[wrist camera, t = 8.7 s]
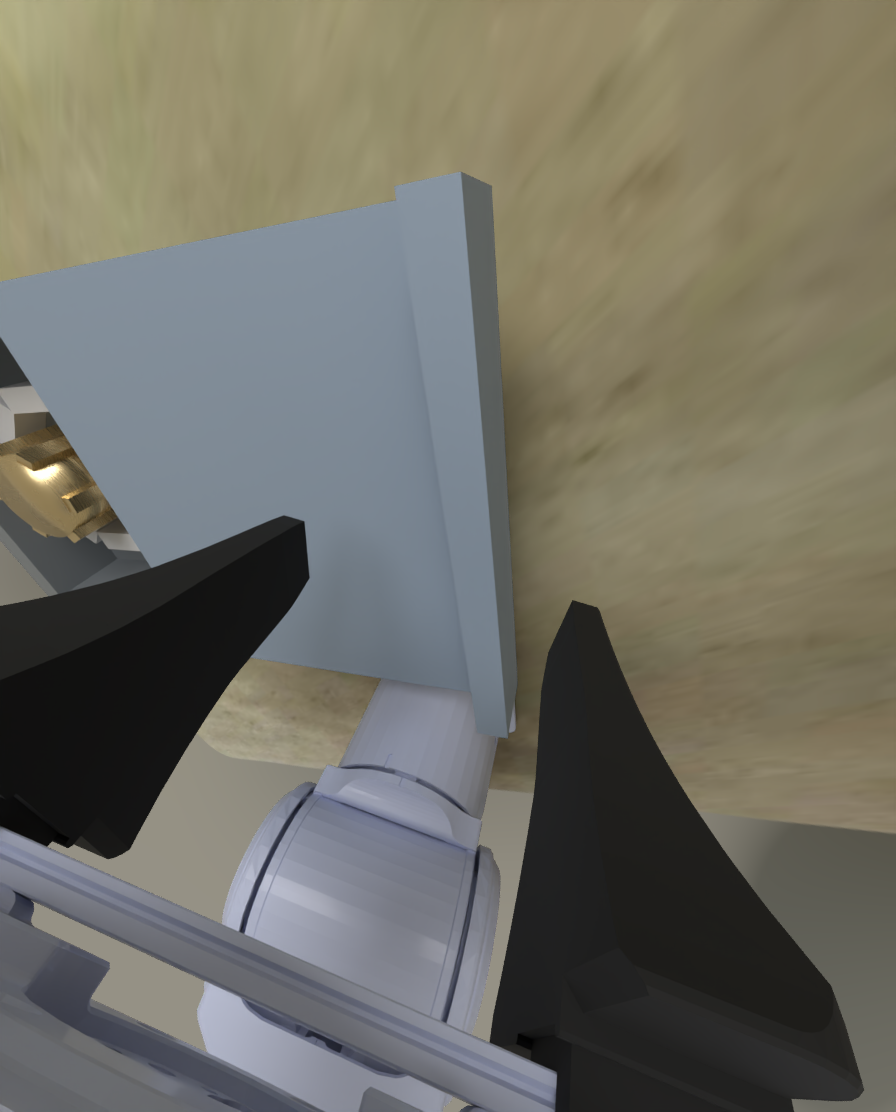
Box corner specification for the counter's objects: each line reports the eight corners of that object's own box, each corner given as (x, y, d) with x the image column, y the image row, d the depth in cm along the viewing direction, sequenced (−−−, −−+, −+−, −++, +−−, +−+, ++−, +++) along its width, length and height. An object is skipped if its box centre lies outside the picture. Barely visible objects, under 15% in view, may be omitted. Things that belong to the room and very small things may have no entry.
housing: (314, 581, 26) (267, 638, 22) (124, 564, 31) (59, 609, 27) (192, 269, 17) (80, 279, 13) (-51, 313, 22) (-183, 329, 18)
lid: (517, 683, 18) (507, 738, 16) (215, 639, 23) (179, 677, 21) (491, 186, 9) (460, 172, 7) (-4, 285, 14) (-105, 294, 12)
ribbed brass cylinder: (142, 521, 26) (81, 559, 23) (66, 475, 26) (-7, 509, 22) (143, 454, 23) (71, 489, 20) (56, 401, 22) (-32, 428, 19)
